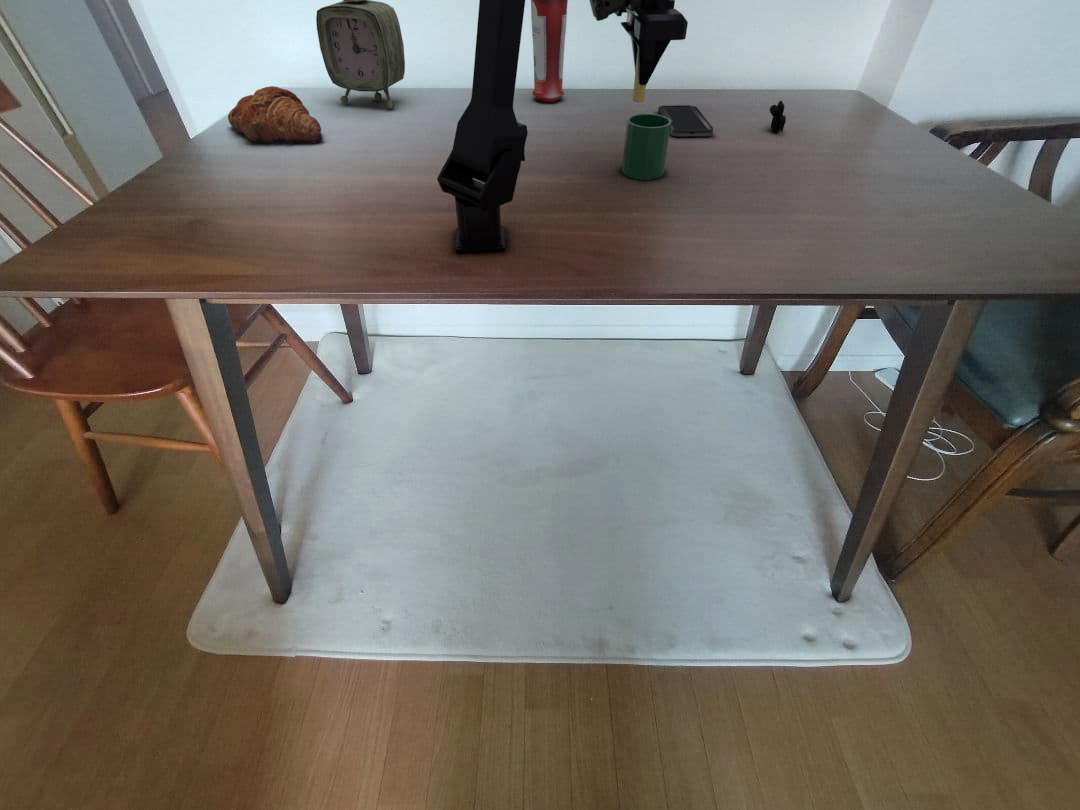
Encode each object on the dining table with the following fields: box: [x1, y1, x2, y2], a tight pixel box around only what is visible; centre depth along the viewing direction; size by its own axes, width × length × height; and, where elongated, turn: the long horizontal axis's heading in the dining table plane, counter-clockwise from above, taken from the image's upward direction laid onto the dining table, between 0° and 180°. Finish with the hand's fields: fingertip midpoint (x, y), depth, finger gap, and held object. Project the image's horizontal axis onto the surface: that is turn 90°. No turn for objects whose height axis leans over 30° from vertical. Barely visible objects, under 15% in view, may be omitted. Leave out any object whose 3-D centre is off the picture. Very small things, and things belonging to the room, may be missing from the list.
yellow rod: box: [632, 51, 647, 103], centre depth 85 cm, size 2×2×9 cm
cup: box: [621, 113, 671, 181], centre depth 93 cm, size 7×7×8 cm
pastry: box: [227, 85, 323, 144], centre depth 105 cm, size 17×15×8 cm
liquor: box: [530, 0, 569, 104], centre depth 115 cm, size 7×7×28 cm
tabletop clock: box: [315, 0, 406, 110], centre depth 114 cm, size 14×9×25 cm, turn 73°
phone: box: [657, 104, 714, 138], centre depth 112 cm, size 8×1×15 cm
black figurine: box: [769, 100, 787, 133], centre depth 109 cm, size 7×2×5 cm, turn 175°
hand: (641, 82), depth 86 cm, fingers closed on yellow rod, 2 cm apart
